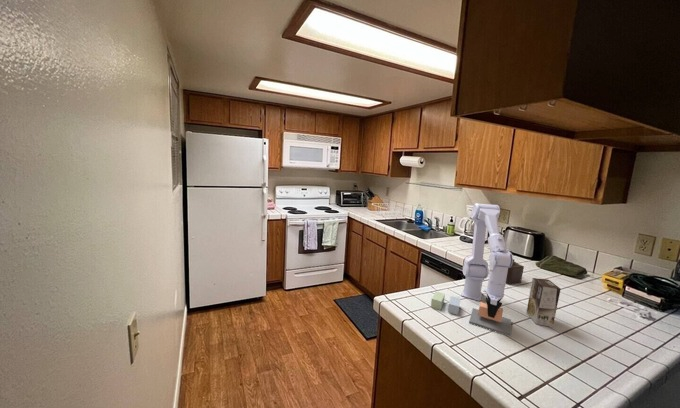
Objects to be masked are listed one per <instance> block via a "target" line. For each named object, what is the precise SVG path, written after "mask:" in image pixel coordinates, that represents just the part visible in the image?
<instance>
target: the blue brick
mask: <svg viewBox="0 0 680 408" xmlns="http://www.w3.org/2000/svg"><path fill="white" fill-rule="evenodd" d="M460 304H461V297H457V296H453V295H450V297H449V301H448V307H447V313H448V312H449V313H448V314H452V315H455V314H456V316H459V311H460Z"/></svg>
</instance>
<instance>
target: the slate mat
mask: <svg viewBox="0 0 680 408" xmlns="http://www.w3.org/2000/svg"><path fill="white" fill-rule="evenodd" d="M470 313H471V314H470V317H469V321H468V323H469V324H471V323H472V324H471V325H474V324H475V325H474V326H477V325H478V326H477V327H480V326H481V327H480V328H483V327H484V328H483V329H486V328H487V329H486V330H489V329H490V331H492V330H493V331H492V332H495V331H496V332H495V333H498V334H501V335H505V336H508V337H511V335H512V319H511V318H507V317H505V316H502V320H501V322H498V321H495V320H491V319H488V318H485V317H482V316H478V313H479V308H478V309H477V308H474V307H472V310H471V312H470Z"/></svg>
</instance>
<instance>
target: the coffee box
mask: <svg viewBox="0 0 680 408" xmlns="http://www.w3.org/2000/svg"><path fill="white" fill-rule="evenodd" d="M530 284H531V285H530V291H529V296H528V303H527V308H526V315H527V316H528V317H529V318H530V319H531V321H533V322H534V324H535V325H539V326H546V327H551V328H553V327H554V323H555V318H556V312H557V308H558V304H559V298H560V294H561V290H562V289H561V288H560V287H559V286H558V285H557V284H556V283H554V282H553V281H551V280H550V279H548V278H547V279H546V278H536V277H532V279H531V283H530Z"/></svg>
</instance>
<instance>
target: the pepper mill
mask: <svg viewBox="0 0 680 408" xmlns="http://www.w3.org/2000/svg"><path fill="white" fill-rule="evenodd" d="M509 252H510V253H511V254H512V255H513V251H512V250H509ZM524 268H525V266H524V265H522V264H519V263H518V262H516V261H515V259H514V258H513V264H512V266H511V267H510V268H509V267H508V272H507V278H506V284H505V285H509V286H510V285H516V284H521V283H522V279H523V275H524Z"/></svg>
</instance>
